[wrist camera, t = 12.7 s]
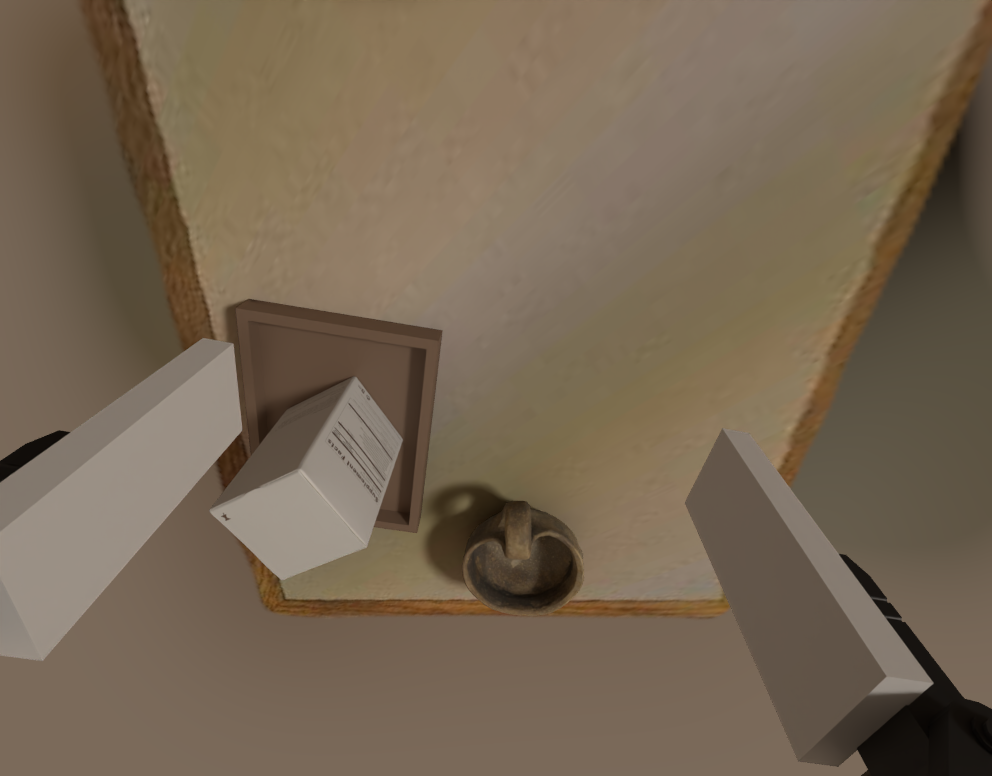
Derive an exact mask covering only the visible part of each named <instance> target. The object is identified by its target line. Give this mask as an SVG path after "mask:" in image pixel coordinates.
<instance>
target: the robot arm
mask: <svg viewBox="0 0 992 776" xmlns="http://www.w3.org/2000/svg"><path fill="white" fill-rule="evenodd" d="M241 431H242V421H241V412H240V402H239V392H238V383H237V373H236V363H235V354H234V344H233V343H228V342H223V341H217V340H211V339H205V338H202V339H201V340H200V341H198V342H197V343H195V344H194V345H193V346H191V347H190V348H188V349H187V350H186V351H184V352H183V353H181V354H180V355H179V356H177V357H176V358H174V359H173V360H172V361H170V362H169V363H167V364H166V365H165V366H163V367H162V368H160V369H159V370H158V371H156V372H155V373H153V374H152V375H150V376H149V377H148V378H146V379H145V380H143V381H142V382H141V383H139V384H138V385H137V386H135V387H134V388H132V389H131V390H130V391H128V392H127V393H125V394H124V395H122V396H121V397H120V398H118V399H117V400H116V401H114V402H113V403H111V404H110V405H108V406H107V407H106V408H104V409H103V410H101V411H100V412H99V413H97V414H96V415H94V416H93V417H92V418H90V419H89V420H87V421H86V422H85V423H83V424H82V425H80V426H79V427H77V428H76V429H75V430H73V431H72V432H66V431H56V432H54V433H52V434H49V435H47V436H44V437H42V438H39V439H37V440H34V441H32V442H29V443H27V444H25V445H24V446H22V447H20V448H19V449H17V450H16V451H15V452H13V453H11V454H10V455H8V456H7V457H5V458H4V459H3V460H1V461H0V655H2V656H10V657H17V658H25V659H32V660H40V661H43V660H44V658H45V657H46V656H47V655H48V654H49V653H50V652H51V650H52V649H53V648H54V647H55V646H56V645H57V643H58V642H59V641H60V640H61V639H62V638H63V637H64V635H65V634H66V633H67V632H68V631H69V630H70V628H71V627H72V626H73V625H74V624H75V623H76V621H77V620H78V619H79V618H80V617H81V616H82V615H83V614H84V612H85V611H86V610H87V609H88V608H89V607H90V605H91V604H92V603H93V602H94V600H96V598H97V597H98V596H99V595H100V594H101V593H102V591H103V590H104V589H105V588H106V587H107V586H108V585H109V584H110V582H111V581H112V580H113V579H114V578H115V577H116V575H117V574H118V573H119V572H120V571H121V570H122V569H123V567H124V566H125V565H126V564H127V563H128V562H129V560H130V559H131V558H132V557H133V556H134V555H135V554H136V552H137V551H138V550H139V549H140V548H141V547H142V545H143V544H144V543H145V542H146V541H147V540H148V539H149V537H150V536H151V535H152V534H153V533H154V531H155V530H156V529H157V528H158V527H159V526H160V525H161V524H162V522H163V521H164V520H165V519H166V518H167V517H168V515H169V514H170V513H171V512H172V511H173V510H174V508H175V507H176V506H177V505H178V504H179V503H180V502H181V501H182V499H183V498H184V497H185V496H186V494H188V492H189V491H190V490H191V489H192V488H193V487H194V485H195V484H196V483H197V482H198V481H199V480H200V478H201V477H202V476H203V475H204V474H205V473H206V472H207V470H208V469H209V468H210V467H211V466H212V465H213V464H214V462H215V461H216V460H217V459H218V458H219V457H220V456H221V454H222V453H223V452H224V451H225V450H226V449H227V447H228V446H229V445H230V444H231V443H232V442H233V441H234V439H235V438H236V437H237V436H238V435H239V434H240V432H241ZM685 504H686V507H687V509H688V511H689V513H690V516H691V518H692V520H693V522H694V525H695V527H696V529H697V532H698V534H699V536H700V538H701V541H702V543H703V545H704V548H705V550H706V552H707V554H708V557H709V559H710V561H711V564H712V566H713V568H714V570H715V573H716V575H717V577H718V580H719V582H720V584H721V586H722V589H723V591H724V593H725V596H726V598H727V600H728V602H729V605H730V607H731V609H732V611H733V614H734V616H735V618H736V621H737V623H738V625H739V627H740V630H741V632H742V634H743V636H744V639H745V641H746V643H747V645H748V648H749V650H750V652H751V655H752V657H753V659H754V661H755V664H756V666H757V669H758V670H759V673H760V675H761V678H762V680H763V682H764V684H765V687H766V689H767V691H768V694H769V696H770V698H771V700H772V703H773V705H774V707H775V709H776V712H777V714H778V716H779V719H780V721H781V723H782V726H783V728H784V730H785V732H786V735H787V737H788V739H789V741H790V744H791V746H792V748H793V751H794V753H795V755H796V757H797V760H798V761H800V762H807V763H815V764H822V765H830V766H837V767H838V766H839V765H840V764H842V763H843V762H844V761H845V760H846V759H847V758H849V757H850V756H851V755H852V754H853V753H854V752H856V751H857V750H858V752H859V754H860V755H861V757H862V759H863V761H864V763H865V765H866V766H867V768H868V770H867V771H866V772H865V773H864V774H862V775H861V776H992V709H991V708H989V707H987V706H985V705H983V704H981V703H979V702H975V701H971V700H967V699H964V697H963V696H962V695H961V694H960V693H959V691H958V690H957V689H956V687H955V686H954V685H953V683H952V682H951V681H950V680H949V678H948V677H947V676H946V674H945V673H944V672H943V671H942V670H941V668H940V667H939V665H938V664H937V663H936V661H935V660H934V659H933V658H932V656H931V655H930V654H929V652H928V651H927V650H926V649H925V647H924V646H923V644H922V643H921V642H920V641H919V640H918V638H917V637H916V636H915V634H914V633H913V632H912V630H911V629H910V628H909V626H908V625H907V624H906V623H905V622H902V621H901V618H902V617H901V616H900V615H899V613H898V612H897V611H896V609H895V608H894V607H893V606H892V604H891V603H887V598H886V596H885V595H884V594H883V593H882V591H881V590H880V589H879V587H878V586H877V585H876V583H875V582H874V581H873V580H872V579H871V577H870V576H869V575H868V574H867V573H866V572H865V571H863V570H862V569H861V568H860V567H859V566H858V565H857V564H856V563H854V562H853V561H852V560H851V559H850V558H849V557H848V556H846V555H843V554H838V553H837V552H836V550H835V549H834V547H833V546H832V545H831V543H830V542H829V541H828V539H827V538H826V537H825V535H824V534H823V532H822V531H821V530H820V528H819V527H818V526H817V524H816V523H815V522H814V520H813V519H812V518H811V516H810V515H809V513H808V512H807V511H806V509H805V508H804V507H803V505H802V504H801V503H800V501H799V500H798V499H797V497H796V496H795V495H794V493H793V492H792V490H791V489H790V488H789V486H788V485H787V484H786V482H785V481H784V480H783V478H782V477H781V476H780V474H779V473H778V471H777V470H776V469H775V467H774V466H773V465H772V463H771V462H770V461H769V459H768V458H767V457H766V455H765V454H764V452H763V451H762V450H761V448H760V447H759V446H758V444H757V443H756V442H755V440H754V439H753V438H752V436H751V435H750V433H746V432H740V431H735V430H729V429H723V428H722V430H721V432H720V434H719V436H718V438H717V440H716V442H715V444H714V446H713V448H712V450H711V452H710V454H709V456H708V458H707V460H706V462H705V464H704V466H703V468H702V470H701V472H700V474H699V476H698V478H697V480H696V481H695V483H694V485H693V487H692V489H691V491H690V493H689V495H688V497H687V499H686V501H685Z"/></svg>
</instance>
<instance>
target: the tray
mask: <svg viewBox="0 0 992 776" xmlns="http://www.w3.org/2000/svg"><path fill="white" fill-rule="evenodd" d="M235 310H236V319H237V328H238V338H239V347H240V357H241V366H242V376H243V385H244V395H245V404H246V413H247V423H248V432H249V442H250V451H251V455H252V454H253V453H254V451H255V450H256V449H257V447H258V446H259V445H260V444H261V442H262V441H263V440H264V438H265V437H266V436H267V434H268V433H269V432H270V431H271V429H272V428H273V427H274V425H275V424H276V423H277V422H278V420H279V419H280V418H281V416H282V415H283V414H284V413H285V411H286V410H287V409H289V408H291V407H293V406H295V405H297V404H299V403H301V402H303V401H305V400H307V399H309V398H311V397H313V396H315V395H317V394H319V393H321V392H323V391H325V390H327V389H329V388H331V387H333V386H335V385H337V384H339V383H341V382H343V381H345V380H347V379H349V378H352V377H357V378H358V380H359V381H360V382H361V384H362V385H363V386H364V388H365V389H366V391H367V392H368V393H369V395H370V396H371V397H372V399H373V400H374V401H375V403H376V404H377V405H378V407H379V408H380V409H381V411H382V412H383V413H384V415H385V416H386V417H387V419H388V420H389V421H390V423H391V424H392V425H393V427H394V428H395V429H396V431H397V432H398V433H399V435H400V436H401V437H402V439H403V441H402V444H401V447H400V450H399V453H398V456H397V459H396V462H395V465H394V468H393V471H392V474H391V477H390V480H389V483H388V486H387V488H386V492H385V494H384V497H383V500H382V503H381V506H380V509H379V512H378V515H377V518H376V521H375V524H374V527H377V528H384V529H392V530H399V531H406V532H413V533H417V531H418V526H419V522H420V518H421V510H422V501H423V493H424V484H425V476H426V467H427V459H428V450H429V441H430V433H431V424H432V416H433V407H434V399H435V390H436V381H437V373H438V364H439V356H440V347H441V339H442V330H436V329H430V328H424V327H418V326H411V325H405V324H399V323H393V322H387V321H381V320H375V319H369V318H362V317H356V316H350V315H344V314H338V313H332V312H326V311H319V310H313V309H307V308H301V307H295V306H289V305H283V304H277V303H270V302H264V301H258V300H252V299H248V300H247V301H245V302H244V303H242V304H241V305H239V306H238V307H236V308H235Z"/></svg>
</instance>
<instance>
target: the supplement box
mask: <svg viewBox="0 0 992 776" xmlns="http://www.w3.org/2000/svg"><path fill="white" fill-rule="evenodd" d="M402 441H403V439H402V437H401V436H400V435H399V433H398V432H397V431H396V429H395V428H394V427H393V425H392V424H391V423H390V421H389V420H388V419H387V417H386V416H385V415H384V413H383V412H382V411H381V409H380V408H379V407H378V405H377V404H376V403H375V401H374V400H373V399H372V397H371V396H370V395H369V393H368V392H367V391H366V389H365V388H364V386H363V385H362V384H361V382H360V381H359V380H358V378H357V377H352V378H349V379H347V380H345V381H343V382H341V383H339V384H337V385H335V386H333V387H331V388H329V389H327V390H325V391H323V392H321V393H319V394H317V395H315V396H313V397H311V398H309V399H307V400H305V401H303V402H301V403H299V404H297V405H295V406H293V407H291V408H289V409H287V410H286V411H285V413H284V414H283V415H282V416H281V418H280V419H279V420H278V422H277V423H276V424H275V425H274V427H273V428H272V429H271V431H270V432H269V433H268V434H267V436H266V437H265V438H264V440H263V441H262V442H261V444H260V445H259V446H258V447H257V449H256V450H255V451H254V453H253V454H252V455H251V457H250V458H249V459H248V460H247V462H246V463H245V464H244V466H243V467H242V468H241V470H240V471H239V472H238V473H237V475H236V476H235V477H234V479H233V480H232V481H231V482H230V484H229V485H228V486H227V488H226V489H225V490H224V492H223V493H222V494H221V496H220V497H219V498H218V499H217V501H216V502H215V503H214V505H213V506H212V507H211V509H210V510H209V512H210V513H211V514H212V515H213V516H214V517H215V518H217V519H218V520H219V521H220V522H221V523H222V524H223V525H224V526H226V528H227V529H229V530H230V531H231V532H232V533H233V534H234V535H235V536H236V537H237V538H238V539H239V540H240V541H241V542H242V543H243V544H244V545H246V546H247V547H248V548H249V549H250V550H251V551H252V552H253V553H254V554H255V555H256V556H257V557H258V558H259V559H260V560H261V561H262V562H263V563H264V564H265V565H266V566H267V567H268V568H269V569H270V570H271V571H272V572H273V573H274V574H275V575H276V576H278V577H279V578H280V579H281V580H284V579H286V578H289V577H291V576H294V575H296V574H299V573H301V572H304V571H307V570H309V569H312V568H314V567H317V566H320V565H322V564H325V563H327V562H330V561H332V560H335V559H338V558H340V557H343V556H345V555H348V554H351V553H353V552H356V551H358V550H361V549H364V548H366V547H367V545H368V542H369V539H370V536H371V533H372V530H373V527H374V524H375V521H376V518H377V515H378V512H379V509H380V506H381V503H382V500H383V497H384V494H385V492H386V488H387V486H388V483H389V480H390V477H391V474H392V471H393V468H394V465H395V462H396V459H397V456H398V453H399V450H400V447H401V444H402Z"/></svg>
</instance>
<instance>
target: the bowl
mask: <svg viewBox="0 0 992 776" xmlns="http://www.w3.org/2000/svg"><path fill="white" fill-rule="evenodd" d="M462 573H463V578H464V581H465V584H466V586H467V587H468V589H469V591H470V592H471V593H472V594H473V595H474V596H475V597H476V598H477V599H479V600H480V601H481V602H482V603H483V604H485V605H486V606H488V607H489V608H491V609H493V610H497V611H500V612H503V613H508V614H514V615H529V616H538V615H544V614H549V613H552V612H554V611H556V610H558V609H560V608H561V607H562V606H564V605H565V604H567V603H568V602H569V601H570V600H571V599H572V598H573V597H574V596H575V595H576V594H577V593H578V591H579V590H580V588H581V586H582V584H583V581H584V567H583V554H582V550H581V548H580V547H579V545H578V542H577V539H576V537H575V535H574V534H573V532H572V531H571V530H570V529H569V528H568V527H567V526H566V525H565V524H564V523H563V522H562V521H560V520H559V519H557V518H555V517H554V516H552V515H550V514H548V513H545V512H542V511H538V510H534V509H530V505H529V504H528V503H527V502H525V501H512V502H507V503H506V504H505V505H504V507H503V511H501V512H500V513H498V514H496V515H494V516H492V517H490V518H489V519H487V520H486V521H484V522H483V523H482V524H480V525H479V526H478V527H477V528H476V529H475V530H474V531H473V533H472V534H471V536H470V538H469V540H468V543H467V546H466V550H465V555H464V559H463V564H462Z"/></svg>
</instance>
